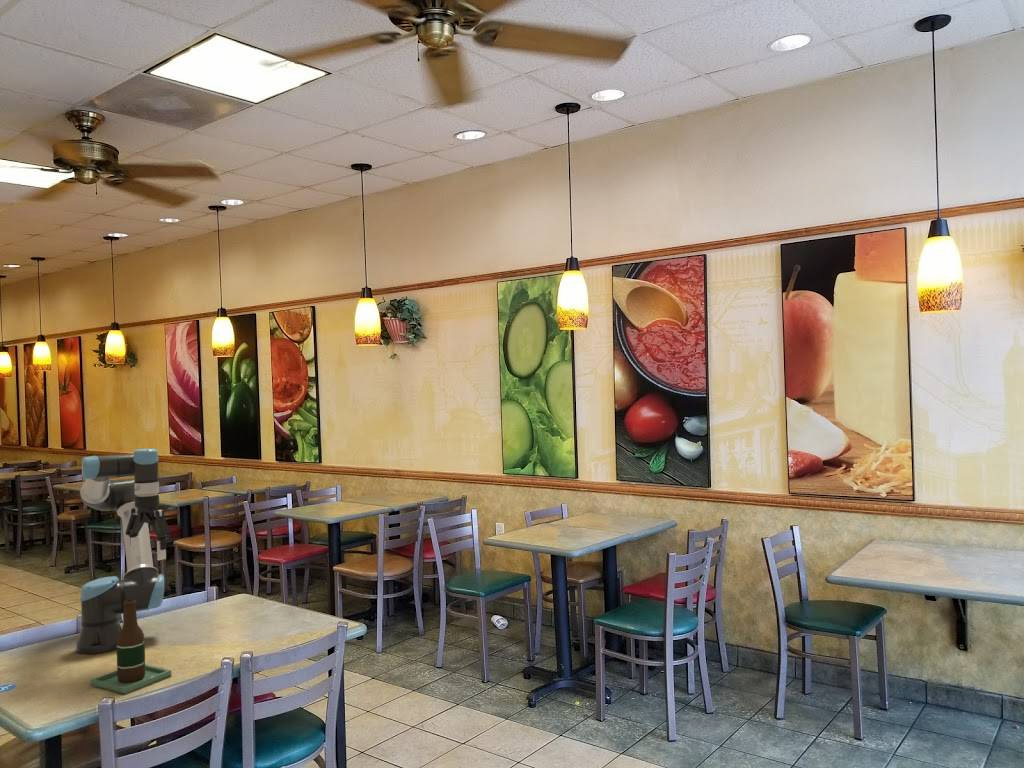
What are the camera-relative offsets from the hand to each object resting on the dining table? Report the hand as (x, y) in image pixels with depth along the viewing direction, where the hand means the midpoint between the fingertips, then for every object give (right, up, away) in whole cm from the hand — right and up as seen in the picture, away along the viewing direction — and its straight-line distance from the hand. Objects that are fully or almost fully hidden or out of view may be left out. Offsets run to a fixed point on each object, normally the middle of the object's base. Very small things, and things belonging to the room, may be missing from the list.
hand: (148, 558), depth 262 cm
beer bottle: (+6, -32, -23) cm, 40 cm away
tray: (+6, -33, -23) cm, 40 cm away
